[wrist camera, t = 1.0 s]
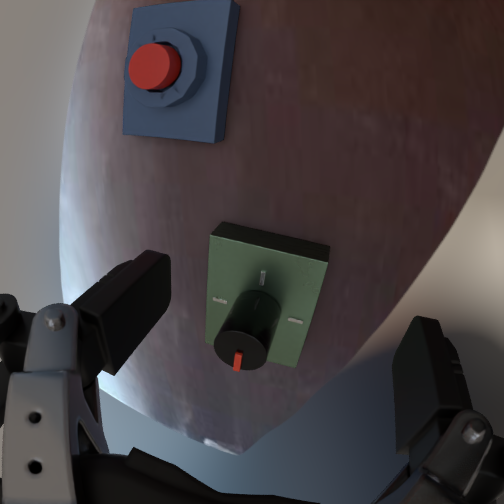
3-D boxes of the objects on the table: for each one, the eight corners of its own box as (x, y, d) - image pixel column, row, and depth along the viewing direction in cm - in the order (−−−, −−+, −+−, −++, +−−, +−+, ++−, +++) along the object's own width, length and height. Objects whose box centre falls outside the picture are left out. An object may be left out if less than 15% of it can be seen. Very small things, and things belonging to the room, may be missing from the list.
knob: (236, 285, 28) (212, 326, 23) (284, 297, 27) (270, 343, 22) (232, 321, 30) (211, 363, 25) (276, 333, 29) (261, 378, 24)
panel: (222, 221, 29) (209, 235, 26) (330, 246, 27) (328, 263, 24) (214, 325, 35) (204, 343, 32) (300, 348, 33) (295, 369, 31)
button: (143, 47, 19) (130, 45, 18) (183, 44, 19) (172, 41, 17) (139, 89, 21) (126, 89, 20) (178, 89, 20) (167, 89, 19)
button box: (146, 12, 21) (120, 4, 17) (240, 6, 19) (223, -8, 16) (136, 131, 27) (109, 137, 23) (224, 140, 25) (204, 147, 22)
